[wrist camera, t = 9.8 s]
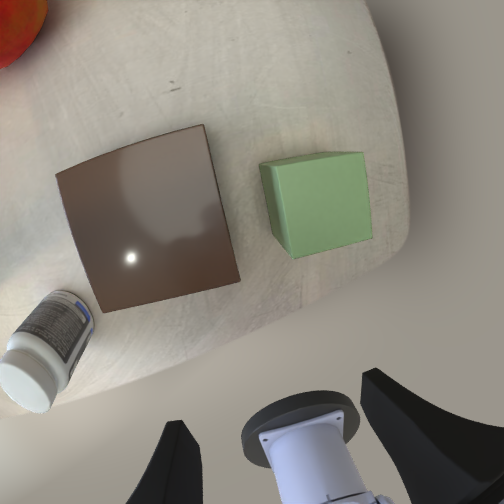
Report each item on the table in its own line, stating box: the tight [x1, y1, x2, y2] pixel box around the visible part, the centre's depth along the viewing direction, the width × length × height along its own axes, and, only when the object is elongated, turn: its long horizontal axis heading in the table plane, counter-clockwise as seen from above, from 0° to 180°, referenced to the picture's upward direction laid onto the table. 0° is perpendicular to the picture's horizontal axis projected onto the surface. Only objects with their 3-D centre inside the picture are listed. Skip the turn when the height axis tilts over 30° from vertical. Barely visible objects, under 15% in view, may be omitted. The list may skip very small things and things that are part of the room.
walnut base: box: [55, 124, 241, 313], centre depth 15 cm, size 8×8×4 cm
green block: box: [259, 152, 372, 259], centre depth 16 cm, size 5×5×5 cm
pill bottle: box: [0, 291, 94, 413], centre depth 14 cm, size 5×5×8 cm
